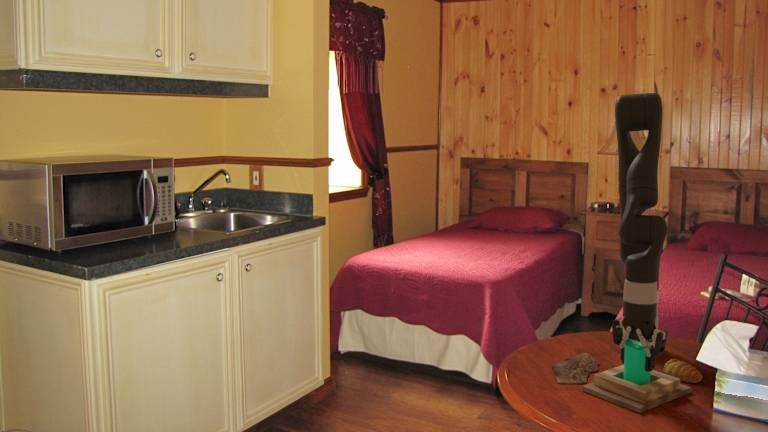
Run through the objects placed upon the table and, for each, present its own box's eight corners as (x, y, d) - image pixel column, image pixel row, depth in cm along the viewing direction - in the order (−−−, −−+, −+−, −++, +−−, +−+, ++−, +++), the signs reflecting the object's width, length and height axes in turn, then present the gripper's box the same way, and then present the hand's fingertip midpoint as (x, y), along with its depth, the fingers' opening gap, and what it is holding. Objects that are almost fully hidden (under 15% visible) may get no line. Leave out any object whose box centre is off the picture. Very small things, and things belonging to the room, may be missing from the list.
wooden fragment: (581, 389, 169) (581, 385, 169) (538, 380, 175) (538, 376, 175) (610, 358, 191) (610, 355, 190) (571, 352, 196) (571, 348, 196)
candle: (618, 387, 167) (620, 338, 165) (630, 380, 171) (631, 333, 169) (643, 393, 162) (644, 344, 161) (654, 386, 167) (655, 338, 165)
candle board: (632, 372, 179) (633, 358, 178) (690, 392, 166) (691, 377, 165) (582, 390, 168) (582, 376, 167) (639, 413, 155) (640, 397, 154)
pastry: (709, 381, 173) (710, 367, 172) (690, 387, 170) (690, 372, 169) (678, 369, 181) (679, 355, 181) (659, 374, 178) (660, 360, 178)
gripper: (677, 302, 160) (673, 372, 162) (623, 290, 172) (621, 355, 174) (657, 308, 156) (654, 379, 158) (604, 295, 167) (602, 361, 170)
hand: (637, 366), depth 166 cm, fingers open, 6 cm apart
